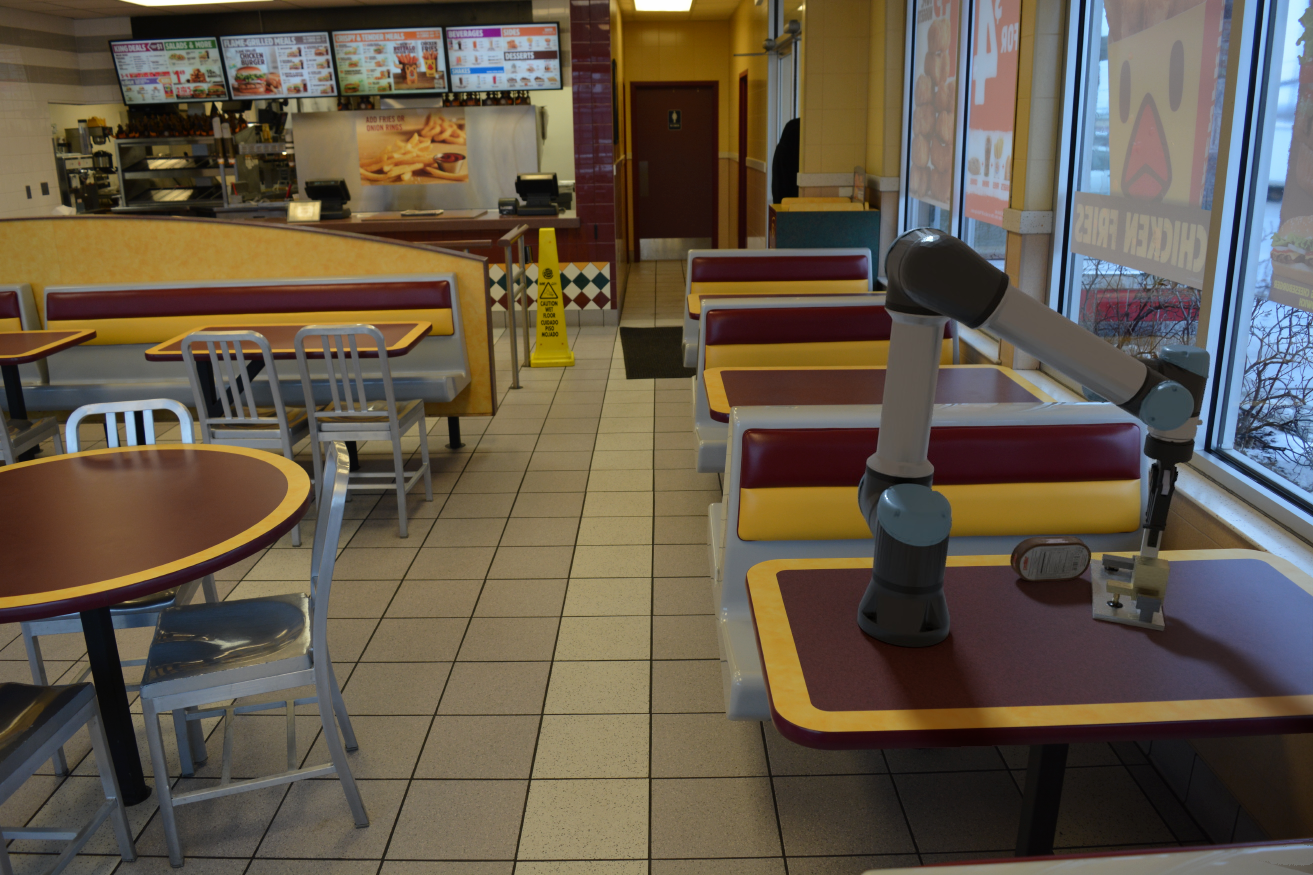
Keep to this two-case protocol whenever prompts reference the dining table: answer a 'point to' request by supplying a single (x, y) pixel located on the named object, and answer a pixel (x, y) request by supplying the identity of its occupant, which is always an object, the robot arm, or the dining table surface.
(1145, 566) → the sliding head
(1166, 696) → the dining table surface
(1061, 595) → the dining table surface
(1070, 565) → the tin
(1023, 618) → the dining table surface
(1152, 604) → the grey slide rail base
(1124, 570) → the bolt plate
